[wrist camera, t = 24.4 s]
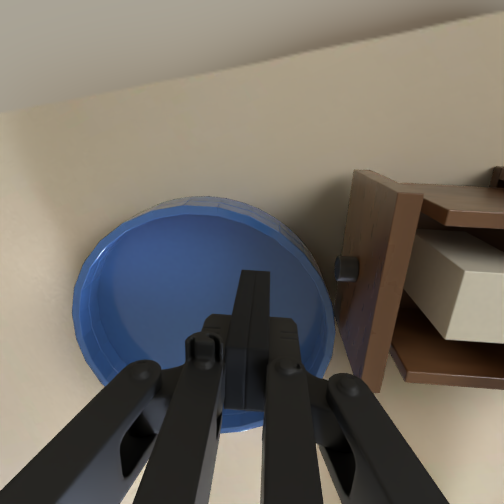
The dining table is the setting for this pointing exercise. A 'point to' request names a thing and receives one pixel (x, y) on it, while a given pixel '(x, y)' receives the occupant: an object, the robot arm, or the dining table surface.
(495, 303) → the block
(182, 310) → the bowl
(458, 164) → the dining table surface
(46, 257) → the dining table surface
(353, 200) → the drawer
